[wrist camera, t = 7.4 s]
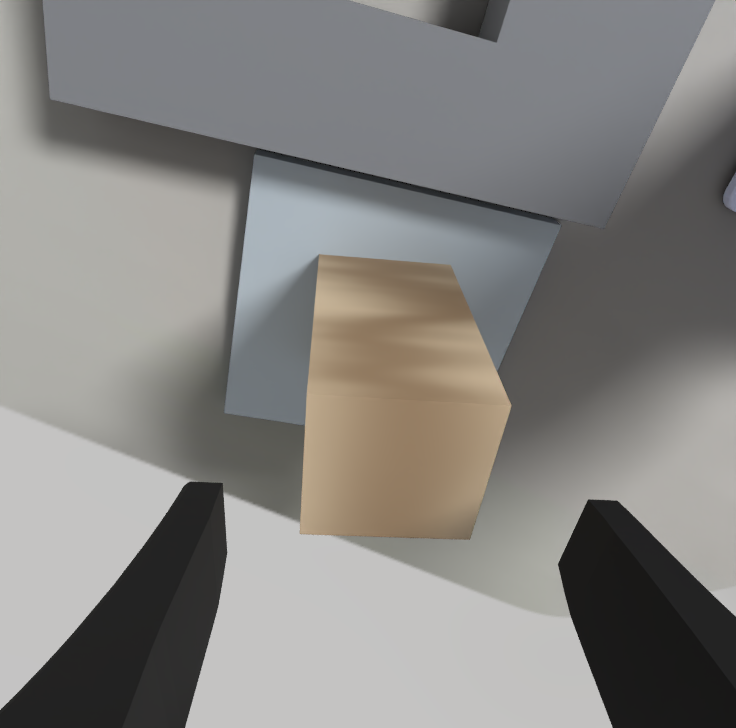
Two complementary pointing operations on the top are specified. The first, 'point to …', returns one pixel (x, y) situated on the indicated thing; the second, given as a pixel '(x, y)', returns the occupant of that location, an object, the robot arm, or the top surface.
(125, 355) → the top surface
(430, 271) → the oak block
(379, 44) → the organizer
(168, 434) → the top surface
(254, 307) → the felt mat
